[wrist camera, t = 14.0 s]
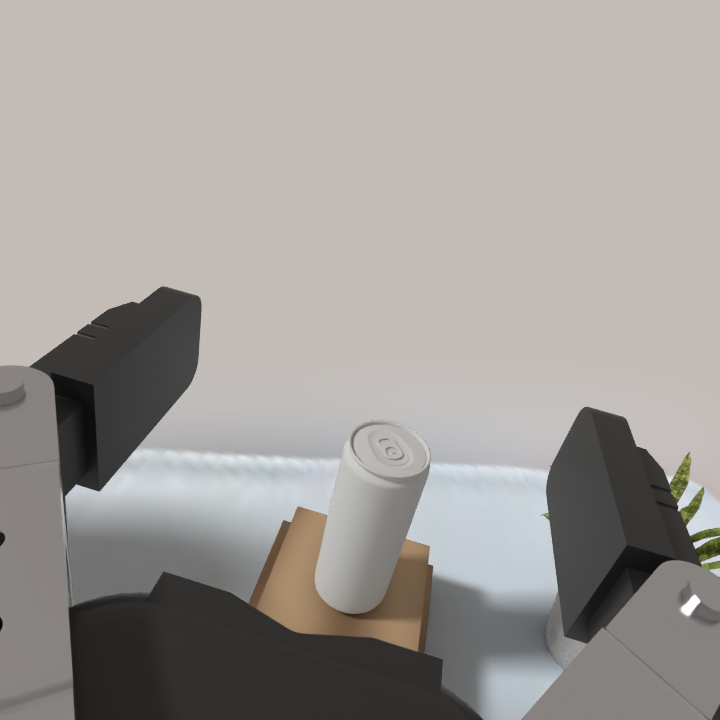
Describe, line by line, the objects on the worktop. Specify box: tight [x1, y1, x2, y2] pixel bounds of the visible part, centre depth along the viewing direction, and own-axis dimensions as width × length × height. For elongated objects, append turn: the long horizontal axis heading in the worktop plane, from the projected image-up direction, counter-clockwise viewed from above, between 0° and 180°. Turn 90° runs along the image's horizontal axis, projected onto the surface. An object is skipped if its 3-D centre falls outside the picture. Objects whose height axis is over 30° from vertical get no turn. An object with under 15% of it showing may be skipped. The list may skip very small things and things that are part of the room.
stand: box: [249, 507, 433, 654], centre depth 38 cm, size 12×12×5 cm
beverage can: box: [314, 420, 431, 614], centre depth 34 cm, size 5×5×12 cm
